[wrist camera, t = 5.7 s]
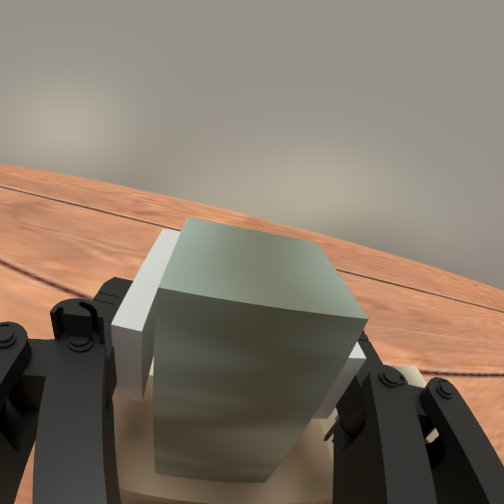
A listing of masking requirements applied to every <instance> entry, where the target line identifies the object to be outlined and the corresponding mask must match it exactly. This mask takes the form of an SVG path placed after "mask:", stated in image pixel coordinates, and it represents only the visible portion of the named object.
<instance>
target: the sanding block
mask: <svg viewBox="0 0 504 504" xmlns="http://www.w3.org/2000/svg"><path fill="white" fill-rule="evenodd" d="M367 321H368V317H367V316H366V314H365V312H364V311H363V309H362V308H361V306H360V305H359V303H358V302H357V300H356V299H355V297H354V296H353V294H352V293H351V291H350V290H349V288H348V287H347V285H346V284H345V282H344V281H343V279H342V278H341V277H340V275H339V274H338V272H337V271H336V269H335V268H334V266H333V265H332V263H331V262H330V261H329V259H328V258H327V256H326V255H325V253H324V252H323V251H322V249H321V248H320V246H319V245H318V244H317V243H314V242H310V241H305V240H300V239H295V238H290V237H285V236H280V235H276V234H271V233H266V232H261V231H256V230H250V229H245V228H240V227H235V226H230V225H225V224H220V223H214V222H209V221H204V220H199V219H193V218H188V217H187V219H186V222H185V224H184V226H183V229H182V231H181V233H180V235H179V238H178V240H177V242H176V245H175V247H174V250H173V252H172V254H171V257H170V259H169V262H168V264H167V267H166V269H165V271H164V274H163V276H162V279H161V282H160V284H159V287H158V296H157V308H156V323H155V341H154V366H153V375H149V377H148V381H147V385H146V389H145V393H144V397H143V401H138V400H133V399H129V398H125V397H121V396H117V388H115V391H114V394H113V397H112V400H113V406H114V434H115V450H116V463H117V473H118V482H119V490H120V498H121V504H332V499H333V463H332V459H331V456H330V452H329V448H328V445H327V441H324V437H325V434H324V431H323V427H322V424H321V420H320V419H312V418H313V416H314V415H315V413H316V412H317V410H318V408H319V407H320V405H321V404H322V402H323V401H324V399H325V397H326V396H327V394H328V392H329V391H330V389H331V387H332V386H333V384H334V382H335V381H336V379H337V377H338V376H339V374H340V372H341V370H342V369H343V367H344V365H345V363H346V361H347V360H348V358H349V356H350V354H351V352H352V350H353V349H354V347H355V345H356V343H357V341H358V339H359V337H360V335H361V333H362V331H363V329H364V327H365V325H366V323H367Z"/></svg>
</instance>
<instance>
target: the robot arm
mask: <svg viewBox="0 0 504 504" xmlns="http://www.w3.org/2000/svg"><path fill="white" fill-rule="evenodd" d="M180 233H181V232H178V231H173V230H168V229H163V230H162V232H161V234H160V236H159V237H158V239H157V241H156V242H155V244H154V246H153V247H152V249H151V251H150V253H149V254H148V256H147V258H146V260H145V261H144V263H143V265H142V267H141V268H140V270H139V272H138V274H137V276H136V277H135V279H134V281H131V280H127V279H122V278H117V277H114V278H112V279H110V280H108V281H107V282H105V283H104V284H103V285H102V287H101V288H100V290H99V291H98V294H96V296H95V297H94V299H93V301H90V300H86V299H81V298H75V299H68V300H64V301H61V302H59V303H58V304H56V305H55V306H54V307H53V308H52V310H51V311H50V315H51V321H52V326H53V332H54V337H55V339H50V340H44V339H28V336H27V332H26V331H25V329H24V328H23V327H22V326H21V325H19V324H17V323H14V322H1V323H0V504H14V502H15V499H16V495H17V492H18V488H19V485H20V482H21V479H22V476H23V473H24V470H25V467H26V464H27V461H28V458H29V456H30V453H31V450H32V447H33V445H34V442H35V440H36V443H35V454H34V469H33V504H121V498H120V490H119V482H118V473H117V463H116V450H115V434H114V406H113V400H112V397H113V394H114V391H115V388H117V396H121V397H125V398H129V399H133V400H138V401H143V397H144V393H145V389H146V385H147V381H148V377H149V373H150V369H151V365H152V361H153V357H154V341H155V323H156V308H157V296H158V287H159V284H160V282H161V279H162V276H163V274H164V271H165V269H166V267H167V264H168V262H169V259H170V257H171V254H172V252H173V250H174V247H175V245H176V242H177V240H178V238H179V235H180ZM364 333H365V332H364V330H363V331H362V333H361V335H360V337H359V339H358V341H357V343H356V345H355V347H354V349H353V350H352V352H351V354H350V356H349V358H348V360H347V361H346V363H345V365H344V367H343V369H342V370H341V372H340V374H339V376H338V377H337V379H336V381H335V382H334V384H333V386H332V387H331V389H330V391H329V392H328V394H327V396H326V397H325V399H324V401H323V402H322V404H321V405H320V407H319V408H318V410H317V412H316V413H315V415H314V416H313V418H312V419H327V418H329V416H330V415H331V413H332V412H333V410H334V409H335V408H336V410H337V413H338V415H339V418H338V419H337V420H336V422H335V423H334V425H333V426H332V427H331V428H330V430H329V431H328V432H327V434H326V435H325V437H324V441H327V440H328V439H329V438H330V437H331V435H332V434H333V439H332V441H331V442H333V499H332V504H504V466H503V464H502V462H501V461H500V459H499V457H498V455H497V453H496V452H495V450H494V448H493V446H492V445H491V443H490V441H489V440H488V438H487V436H486V435H485V433H484V431H483V430H482V428H481V426H480V425H479V423H478V421H477V420H476V418H475V417H474V415H473V413H472V412H471V410H470V409H469V407H468V406H467V404H466V402H465V401H464V399H463V398H462V396H461V395H460V393H459V392H458V390H457V389H456V388H455V387H454V386H453V384H451V383H450V382H449V381H448V380H446V379H443V378H438V377H435V378H432V379H431V380H430V381H429V382H428V384H427V385H426V386H425V388H423V387H418V386H413V385H409V384H408V382H407V380H406V378H405V376H404V375H403V374H402V373H401V372H400V371H398V370H397V369H395V368H393V367H391V366H388V365H383V363H382V362H381V360H380V358H379V356H378V355H377V353H376V351H375V349H374V348H373V346H372V344H371V342H369V339H368V337H367V336H366V334H364ZM435 429H436V430H437V432H438V434H439V435H438V436H437V437H436V438H435V439H434V440H433V441H432V442H429V441H428V440H427V437H428V436H429V435H430V434H431V433H432V432H433V431H434V430H435Z"/></svg>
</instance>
